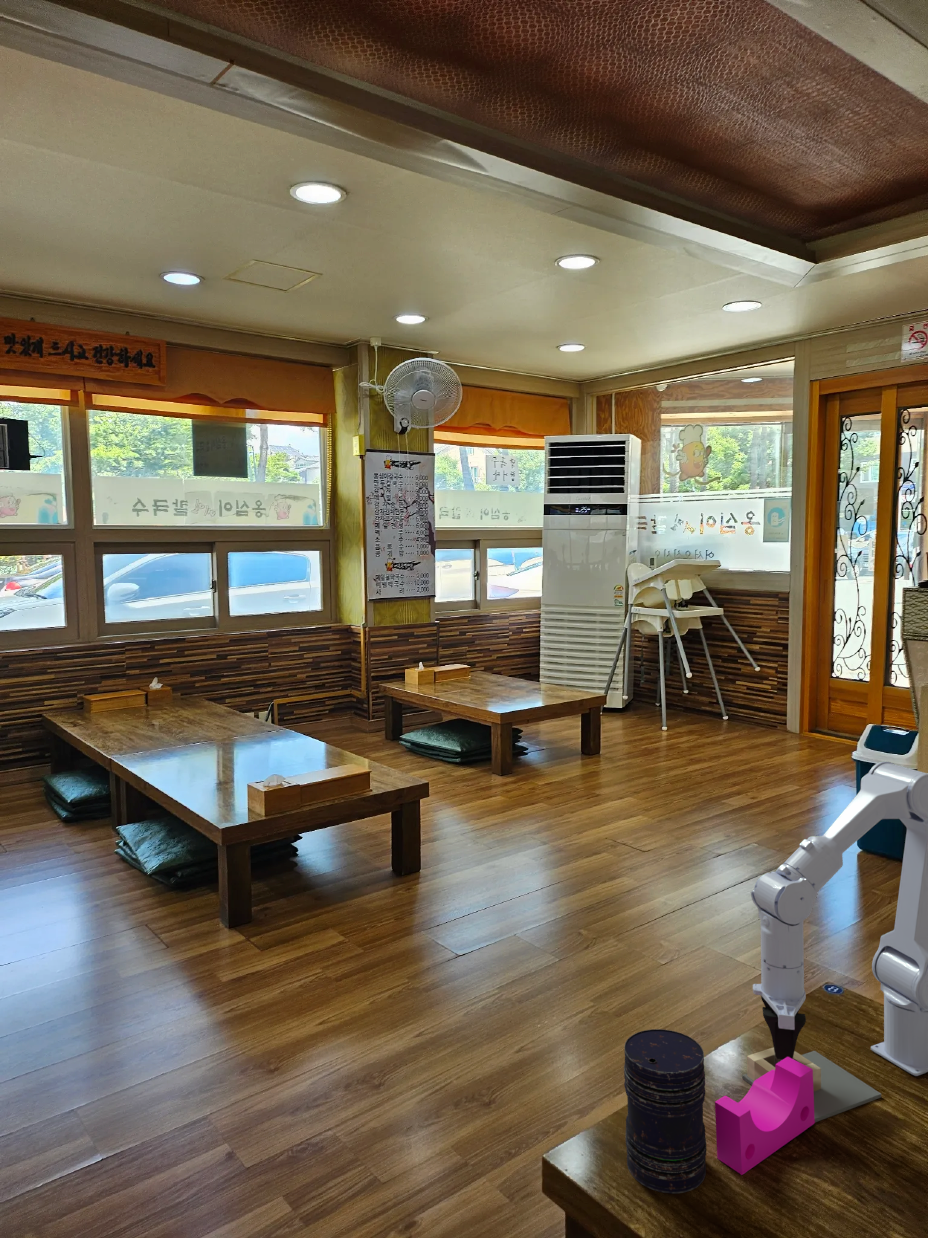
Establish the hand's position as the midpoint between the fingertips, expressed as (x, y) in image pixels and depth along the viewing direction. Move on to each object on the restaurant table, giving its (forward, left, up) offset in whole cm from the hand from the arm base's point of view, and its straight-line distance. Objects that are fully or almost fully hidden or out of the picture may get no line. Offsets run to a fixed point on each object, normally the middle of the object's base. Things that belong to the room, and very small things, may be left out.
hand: (783, 1052), depth 122 cm
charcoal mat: (-3, +2, -5) cm, 6 cm away
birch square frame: (0, 0, -4) cm, 4 cm away
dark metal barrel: (+25, +6, -5) cm, 26 cm away
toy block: (+11, +7, -5) cm, 14 cm away
